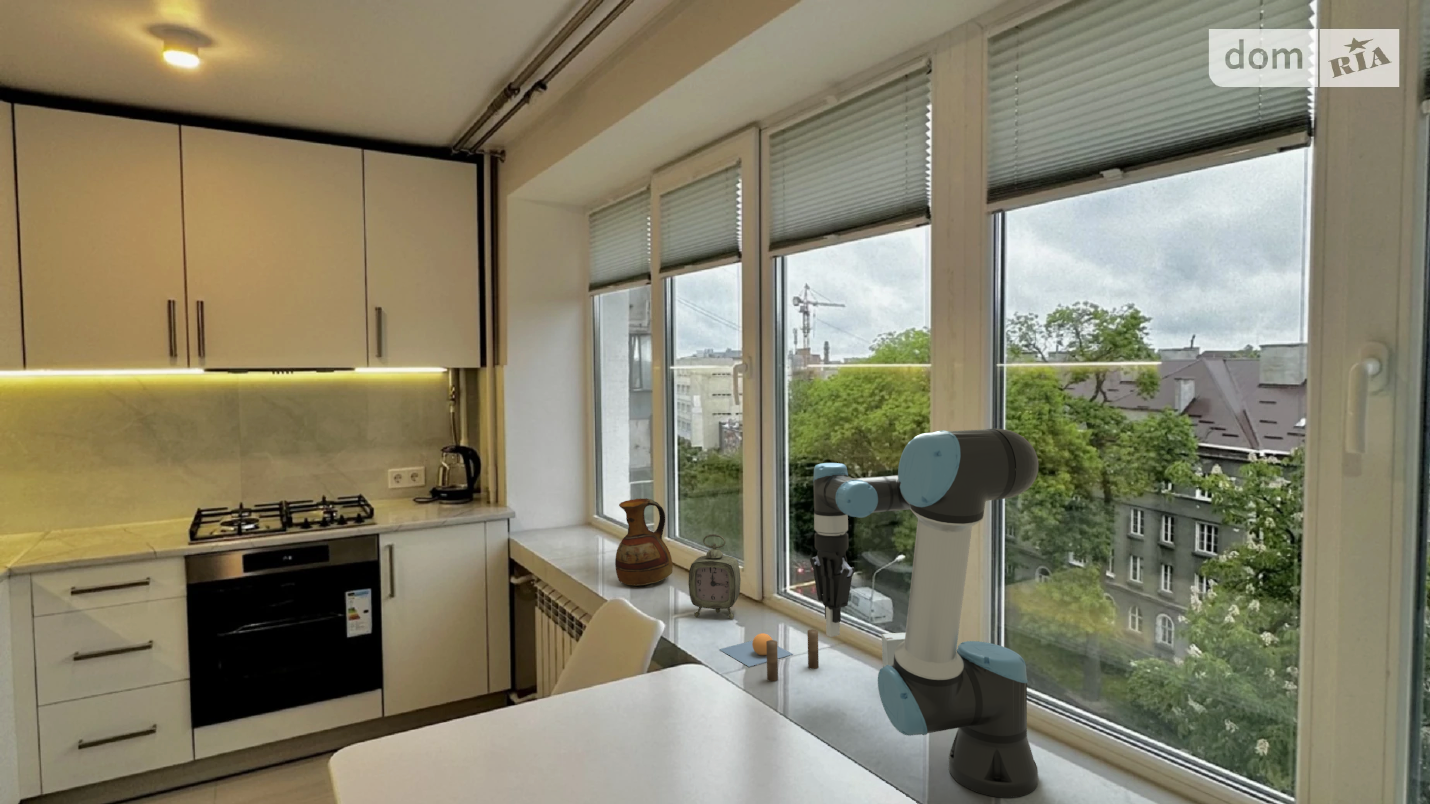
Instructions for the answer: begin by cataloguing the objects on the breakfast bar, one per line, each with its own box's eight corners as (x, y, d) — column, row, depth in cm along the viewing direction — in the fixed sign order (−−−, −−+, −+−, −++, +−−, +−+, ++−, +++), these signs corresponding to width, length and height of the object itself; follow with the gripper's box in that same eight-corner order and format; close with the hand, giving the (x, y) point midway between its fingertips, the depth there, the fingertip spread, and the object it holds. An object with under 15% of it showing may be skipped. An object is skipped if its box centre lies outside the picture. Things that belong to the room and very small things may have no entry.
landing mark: (793, 654, 191) (793, 654, 191) (749, 667, 184) (749, 666, 184) (762, 638, 203) (762, 638, 203) (719, 649, 196) (719, 649, 196)
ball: (767, 652, 195) (779, 653, 190) (750, 657, 192) (761, 658, 187) (763, 631, 196) (775, 631, 191) (746, 635, 193) (757, 636, 188)
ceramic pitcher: (609, 579, 265) (606, 497, 264) (661, 571, 274) (659, 492, 272) (626, 593, 247) (623, 505, 246) (681, 585, 256) (679, 499, 255)
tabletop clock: (689, 618, 221) (687, 536, 220) (697, 609, 229) (695, 530, 228) (736, 621, 217) (734, 538, 216) (742, 611, 226) (740, 531, 225)
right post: (820, 667, 183) (820, 631, 182) (812, 669, 181) (812, 633, 181) (814, 663, 185) (813, 628, 184) (806, 666, 183) (805, 630, 183)
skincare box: (906, 681, 173) (906, 631, 173) (913, 690, 169) (913, 638, 168) (881, 683, 173) (880, 632, 172) (887, 691, 168) (887, 639, 168)
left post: (780, 679, 176) (779, 642, 176) (771, 682, 175) (770, 645, 174) (773, 675, 178) (773, 639, 178) (765, 678, 177) (764, 641, 176)
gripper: (863, 534, 162) (865, 640, 163) (825, 525, 173) (826, 623, 174) (838, 539, 158) (839, 647, 159) (800, 529, 169) (802, 630, 170)
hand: (833, 634), depth 166 cm, fingers closed
